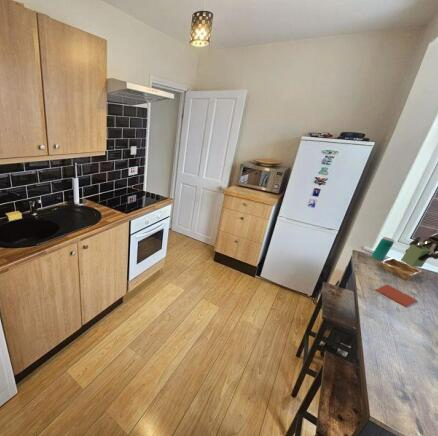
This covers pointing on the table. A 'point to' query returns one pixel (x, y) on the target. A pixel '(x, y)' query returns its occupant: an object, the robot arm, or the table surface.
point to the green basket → (415, 255)
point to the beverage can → (382, 248)
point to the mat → (396, 295)
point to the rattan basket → (400, 268)
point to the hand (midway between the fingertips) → (412, 256)
